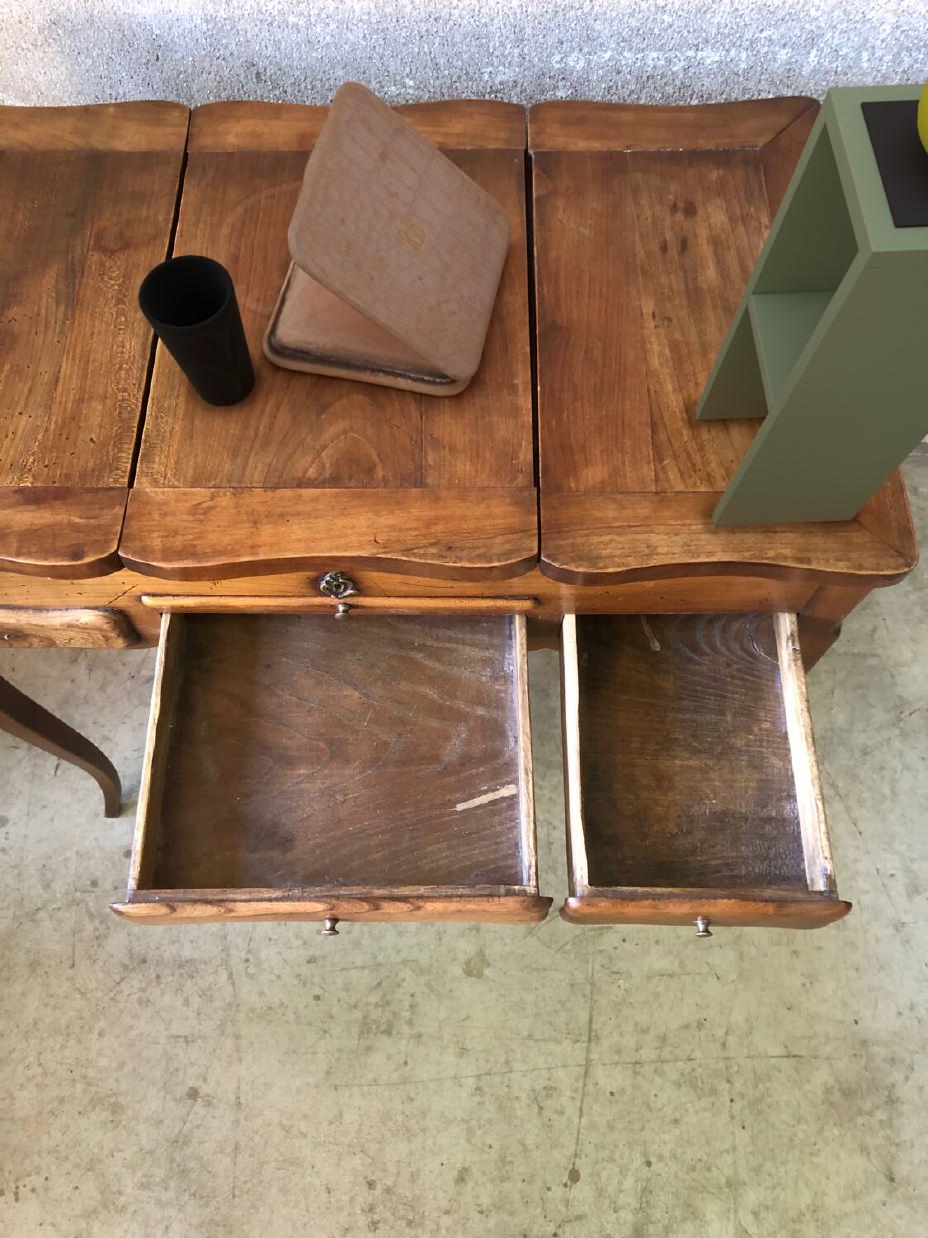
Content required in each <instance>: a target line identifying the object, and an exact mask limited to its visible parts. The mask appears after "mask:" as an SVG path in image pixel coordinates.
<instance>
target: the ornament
mask: <svg viewBox="0 0 928 1238" xmlns="http://www.w3.org/2000/svg"><path fill="white" fill-rule="evenodd" d="M924 84H925V86H924V88H923V90H922V93H921V97H920V101H919V105H918V123H917V125H918V130H919V136H920V139H921V141H922V144H923V146H924V148H925V150H926V152H927V153H928V78H926V81H925V82H924Z"/></svg>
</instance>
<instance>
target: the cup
mask: <svg viewBox="0 0 928 1238" xmlns="http://www.w3.org/2000/svg"><path fill="white" fill-rule="evenodd" d="M233 281H234V280H233V278H232V276H231V274H230V273H229V270H228V269H227V268H226V267H225V266H224V265H223V264H222V263H220V262H219V261H216V260H215V259H213V258H211V257H208V256H204V255H197V254H196V255H195V254H185V255H178V256H174V257H172V258H168V259H166V260H165V261H163V262H160V263H159V264H157V266H155V267H153V268H152V269H151V270H150V271H149V272H148V274H147V275H146V276H145V277H144V278H143V280H142V282H141V285H140V287H139V291H138V296H137V297H138V306H139V308H140V310H141V313H142V314H143V317H145V320H146V321H147V322H148V323H149V324H150V326H151V327H152V329H153V330H154V332H155V333H156V335H157V336H158V338H159V339H160V340H161V342H162V344H163V345H164V347H165V349H167V351H168V352H169V354H170V355H171V357H172V358H173V359H174V361H175V363H176V364H177V366H178V367H179V368H180V370H181V372H183V374H184V376H185V377H186V378H187V380H188V381H189V383H190V385H191V386H192V387H193V389H194V391H196V393H197V394H198V396H199V397H200V398H201V400H203V401H204V402H206V403H207V404H209V405H211V406H215V407H230V406H233V405H236V404H239V403H241V402H242V401H244V400H245V399H246V398H247V397H248V396H249V395H250V394H251V392H252V391H253V388H254V386H255V383H256V375H255V370H254V366H253V363H252V357H251V354H250V350H249V346H248V341H247V337H246V334H245V327H244V324H243V320H242V316H241V311H240V308H239V303H238V299H237V296H236V290H235V285H234V282H233Z"/></svg>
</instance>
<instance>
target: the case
mask: <svg viewBox="0 0 928 1238" xmlns="http://www.w3.org/2000/svg"><path fill="white" fill-rule="evenodd" d="M301 186H302V188H301V191H300V195H299V198H298V200H297V204H296V205H295V209H294V211H293V213H292V214H293V215H292V217H291V220H290V223H289V227H288V230H287V248H288V252H289V254H290V256H291V261H290V264H289V267H288V271H287V272H286V276H285V278H284V281H283V284H282V286H281V289H280V290H279V291H280V292H279V294H278V297H277V300H276V302H275V305H274V308H273V311H272V314H271V316H270V318H269V322H268V324H267V327H266V328H265V329H266V330H265V332H264V335H263V338H262V342H261V346H262V352H263V355H264V357H265V358H266V359H267V360H268V362H270V363H272V364H273V365H275V366H277V367H280V368H283V369H286V370H292V371H299V372H304V373H309V374H316V375H321V376H322V375H323V376H327V377H334V378H340V379H346V380H351V381H357V382H364V383H368V384H374V385H378V386H384V387H390V388H393V389H398V390H404V391H409V392H415V393H418V394H419V393H420V394H425V395H429V396H437V397H452V396H455V395H458V394H460V393H462V392H463V391H464V390H465V389H466V388H468V386H469V384H470V382H471V381H472V378H473V377H474V376H475V374H476V373H477V372H478V369H479V366H480V365H481V364H480V363H481V359H482V355H483V351H484V347H485V343H486V338H487V334H488V330H489V325H490V322H491V318H492V313H493V310H494V305H495V302H496V298H497V293H498V290H499V287H500V283H501V278H502V274H503V270H504V267H505V262H506V260H507V256H508V252H509V247H510V244H511V238H512V226H511V222H510V219H509V217H508V214H507V212H506V211H505V209H504V208H503V207H502V205H501V204H500V203H499V202H498V201H497V200H496V199H495V198H493V197H492V196H491V195H490V194H489V193H488V192H486V191H485V190H484V189H483V188H482V187H481V186H480V185H478V184H477V182H476V181H474V180H473V179H472V178H471V177H470V176H468V174H466V173H465V172H464V171H463V170H462V169H460V168H459V167H458V165H456V164H455V163H454V162H453V161H452V160H450V159H449V158H448V157H446V155H445V154H444V153H443V152H442V151H441V150H439V149H438V148H437V147H436V146H435V145H434V144H432V143H431V142H430V141H429V140H428V139H427V138H426V137H424V136H423V135H422V134H421V133H420V132H419V131H418V130H417V129H416V128H415V127H413V125H411V124H410V123H409V122H408V121H406V119H405V118H403V117H402V116H401V115H400V114H399V113H398V112H396V111H395V109H393V108H392V107H390V106H389V105H388V104H387V103H386V102H385V101H384V100H383V99H382V98H380V96H378V94H376V93H375V92H373V91H372V90H371V89H370V88H368V87H367V86H365V85H364V84H362V83H360V82H357V81H346V82H343V83H342V84H340V85H339V87H338V88H337V90H336V91H335V94H334V97H333V100H332V103H331V105H330V108H329V112H328V115H327V118H326V121H325V123H324V124H323V127H322V128H321V131H320V133H319V135H318V137H317V139H316V140H315V141H314V143H313V145H312V148H311V151H310V153H309V155H308V158H307V160H306V163H305V166H304V170H303V172H302V177H301Z"/></svg>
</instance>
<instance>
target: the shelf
mask: <svg viewBox="0 0 928 1238" xmlns="http://www.w3.org/2000/svg"><path fill="white" fill-rule="evenodd" d="M924 86H925V83H910V84H907V83H906V84H905V83H904V84H884V85H883V84H881V85H861V86H838V87H837V86H836V87H828V90H827V92H826V94H825V97H824V99H823V101H822V103H821V107H820V109H819V112H818V115H817V116H816V118H815V121H814V123H813V127H812V128H811V131H810V133H809V135H808V137H807V140H806V143H805V145H804V147H803V150H802V151H801V155H800V156H799V159H798V162H797V164H796V167H795V169H794V171H793V174H792V176H791V179H790V181H789V184H788V186H787V188H786V191H785V193H784V195H783V197H782V200H781V203H780V205H779V207H778V209H777V212H776V214H775V217H774V220H773V221H772V224H771V227H770V229H769V231H768V233H767V237H766V239H765V241H764V243H763V246H762V248H761V250H760V253H759V256H758V258H757V260H756V263H755V265H754V267H753V269H752V272H751V274H750V277H749V279H748V281H747V284H746V287H745V289H744V291H743V294H742V296H741V299H740V301H739V304H738V306H737V309H736V311H735V312H734V315H733V318H732V320H731V323H730V325H729V327H728V330H727V332H726V335H725V337H724V340H723V342H722V344H721V346H720V348H719V351H718V354H717V356H716V358H715V361H714V363H713V366H712V368H711V370H710V373H709V375H708V378H707V380H706V383H705V385H704V387H703V390H702V392H701V395H700V397H699V399H698V401H697V404H696V406H695V409H694V410H695V417H696V421H712V420H732V419H733V420H735V419H759V418H764V420H763V422H762V424H761V426H760V428H759V429H758V431H757V432H756V434H755V436H754V437H753V440H752V442H751V443H750V445H749V447H748V448H747V450H746V452H745V454H744V456H743V457H742V460H741V462H740V463H739V465H738V467H737V468H736V470H735V472H734V474H733V476H732V477H731V479H730V481H729V483H728V485H727V487H726V488H725V491H724V492H723V493H722V495H721V497H720V499H719V501H718V503H717V505H715V506H716V507H715V508H714V510H713V512H712V513H711V516H712V523H713V527H729V526H749V525H750V526H751V525H774V524H797V523H798V524H799V523H819V522H842V521H843V522H844V521H851V520H853V518H855V516H856V515H858V513H859V512H860V511H861V510H862V509H863V507H864V506H865V505H866V503H868V502H869V501H870V499H871V498H873V496H874V495H875V494H876V493H877V492H878V491H879V489H880V488H881V487H882V486H883V485H884V484H885V483H886V482H887V481H888V480H889V478H890V477H891V476H892V475H893V473H895V472H896V470H898V468H899V467H900V465H902V464H903V462H904V461H905V460H906V459H907V458H908V457H909V456H910V455H911V454H912V452H913V451H914V450H915V449H916V448H917V447H918V446H919V445H920V444H921V442H922V441H924V439H925V438H926V436H928V153H927V152H926V150H925V148H924V146H923V144H922V141H921V139H920V136H919V130H918V125H917V123H918V105H919V101H920V97H921V93H922V90H923V88H924Z"/></svg>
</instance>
